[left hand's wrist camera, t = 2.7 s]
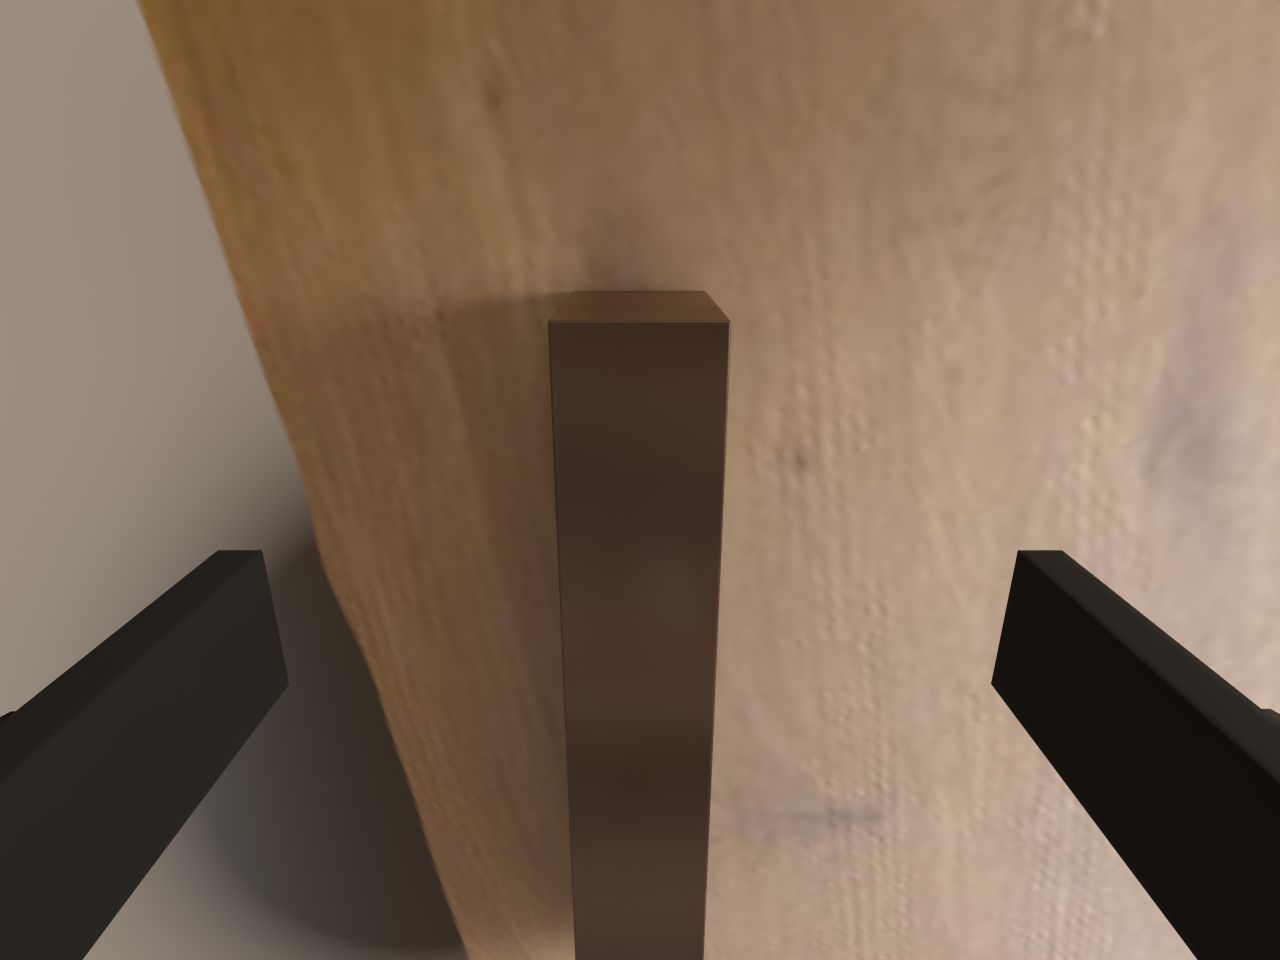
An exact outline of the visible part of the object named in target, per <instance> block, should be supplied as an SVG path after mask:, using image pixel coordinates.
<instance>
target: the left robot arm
mask: <svg viewBox="0 0 1280 960" xmlns="http://www.w3.org/2000/svg"><path fill="white" fill-rule="evenodd" d="M288 684H289V682H288V677H287V672H286V667H285V662H284V658H283V652H282V647H281V642H280V638H279V633H278V628H277V622H276V617H275V612H274V608H273V603H272V598H271V593H270V588H269V583H268V578H267V573H266V568H265V563H264V558H263V553H262V551H261V550H218V551H217V552H215V553H214V554H213V555H212V556H210V557H209V558H208V559H207V560H205V561H204V562H203V563H202V564H200V565H199V566H198V567H197V568H195V569H194V570H193V571H191V572H190V573H189V574H188V575H187V576H185V577H184V578H183V579H181V580H180V581H179V582H178V583H176V584H175V585H174V586H173V587H171V588H170V589H169V590H168V591H166V592H165V593H164V594H163V595H161V596H160V597H159V598H158V599H156V600H155V601H154V602H153V603H151V604H150V605H149V606H148V607H146V608H145V609H144V610H142V611H141V612H140V613H139V614H137V615H136V616H135V617H134V618H132V619H131V620H130V621H129V622H127V623H126V624H125V625H124V626H122V627H121V628H120V629H119V630H117V631H116V632H115V633H114V634H112V635H111V636H110V637H109V638H107V639H106V640H105V641H104V642H102V643H101V644H100V645H99V646H97V647H96V648H95V649H93V650H92V651H91V652H90V653H88V654H87V655H86V656H85V657H83V658H82V659H81V660H80V661H78V662H77V663H76V664H75V665H73V666H72V667H71V668H70V669H68V670H67V671H66V672H65V673H63V674H62V675H61V676H60V677H58V678H57V679H56V680H55V681H53V682H52V683H51V684H50V685H48V686H47V687H46V688H45V689H43V690H42V691H41V692H39V693H38V694H37V695H36V696H34V697H33V698H32V699H31V700H29V701H28V702H27V703H26V704H24V705H23V706H22V707H21V708H19V709H18V710H17V711H15V712H14V711H13V712H12V711H11V712H9V713H7V714H5V715H3V716H2V717H0V960H83V958H84V957H85V956H86V954H87V953H88V952H89V950H90V949H91V948H92V946H93V945H94V944H95V942H96V941H97V940H98V938H99V937H100V936H101V934H102V933H103V932H104V930H105V929H106V928H107V926H108V925H109V924H110V922H111V921H112V920H113V918H114V917H115V915H116V914H117V913H118V912H119V910H120V909H121V907H122V906H123V905H124V904H125V902H126V901H127V900H128V898H129V897H130V895H131V894H132V893H133V891H134V890H135V889H136V887H137V886H138V885H139V883H140V882H141V881H142V879H143V878H144V877H145V875H146V874H147V873H148V871H149V870H150V869H151V867H152V866H153V865H154V863H155V862H156V861H157V859H158V858H159V857H160V855H161V854H162V853H163V851H164V850H165V849H166V847H167V846H168V845H169V843H170V842H171V841H172V839H173V838H174V837H175V835H176V834H177V833H178V831H179V830H180V829H181V827H182V826H183V824H184V823H185V822H186V821H187V819H188V818H189V817H190V815H191V814H192V813H193V811H194V810H195V809H196V807H197V806H198V805H199V803H200V802H201V801H202V799H203V798H204V797H205V795H206V794H207V793H208V791H209V790H210V789H211V787H212V786H213V785H214V783H215V782H216V781H217V779H218V778H219V777H220V775H221V774H222V773H223V771H224V770H225V769H226V767H227V766H228V764H229V763H230V762H231V760H232V759H233V758H234V756H235V755H236V754H237V752H238V751H239V750H240V748H241V747H242V746H243V744H244V743H245V742H246V740H247V739H248V738H249V736H250V735H251V734H252V732H253V731H254V730H255V728H256V727H257V726H258V724H259V723H260V722H261V720H262V719H263V718H264V716H265V715H266V714H267V712H268V711H269V710H270V708H271V707H272V706H273V704H274V703H275V702H276V700H277V699H278V698H279V696H280V695H281V694H282V692H283V691H284V690H285V688H286V687H287V686H288ZM991 684H992V686H993V687H994V688H995V690H996V691H997V692H998V694H999V695H1000V696H1001V698H1002V699H1003V700H1004V702H1005V703H1006V704H1007V706H1008V707H1009V708H1010V710H1011V711H1012V712H1013V714H1014V715H1015V716H1016V718H1017V719H1018V720H1019V722H1020V723H1021V724H1022V726H1023V727H1024V728H1025V730H1026V731H1027V732H1028V734H1029V735H1030V736H1031V738H1032V739H1033V740H1034V742H1035V743H1036V744H1037V746H1038V747H1039V748H1040V750H1041V751H1042V752H1043V754H1044V755H1045V756H1046V758H1047V759H1048V760H1049V762H1050V763H1051V765H1052V766H1053V767H1054V769H1055V770H1056V771H1057V773H1058V774H1059V775H1060V777H1061V778H1062V779H1063V781H1064V782H1065V783H1066V785H1067V786H1068V787H1069V789H1070V790H1071V791H1072V793H1073V794H1074V795H1075V797H1076V798H1077V799H1078V801H1079V802H1080V803H1081V805H1082V806H1083V807H1084V809H1085V810H1086V811H1087V813H1088V814H1089V815H1090V817H1091V818H1092V819H1093V821H1094V822H1095V823H1096V825H1097V826H1098V827H1099V829H1100V830H1101V831H1102V833H1103V834H1104V835H1105V837H1106V838H1107V839H1108V841H1109V842H1110V843H1111V845H1112V846H1113V847H1114V849H1115V850H1116V851H1117V853H1118V854H1119V855H1120V857H1121V858H1122V859H1123V861H1124V862H1125V863H1126V865H1127V866H1128V867H1129V869H1130V870H1131V871H1132V873H1133V874H1134V875H1135V877H1136V878H1137V879H1138V881H1139V882H1140V883H1141V885H1142V886H1143V887H1144V889H1145V890H1146V891H1147V893H1148V894H1149V896H1150V897H1151V898H1152V900H1153V901H1154V902H1155V904H1156V905H1157V906H1158V908H1159V909H1160V910H1161V912H1162V913H1163V914H1164V916H1165V917H1166V918H1167V920H1168V921H1169V922H1170V924H1171V925H1172V926H1173V928H1174V929H1175V930H1176V932H1177V933H1178V934H1179V936H1180V937H1181V938H1182V940H1183V941H1184V942H1185V944H1186V945H1187V946H1188V948H1189V949H1190V950H1191V952H1192V953H1193V954H1194V956H1195V957H1196V958H1197V960H1280V714H1279V713H1277V712H1275V711H1273V710H1271V709H1261V708H1259V707H1258V706H1257V705H1256V704H1254V703H1253V702H1252V701H1251V700H1249V699H1248V698H1247V697H1246V696H1244V695H1243V694H1242V693H1241V692H1239V691H1238V690H1237V689H1236V688H1234V687H1233V686H1232V685H1230V684H1229V683H1228V682H1227V681H1225V680H1224V679H1223V678H1222V677H1220V676H1219V675H1218V674H1217V673H1215V672H1214V671H1213V670H1212V669H1210V668H1209V667H1208V666H1207V665H1205V664H1204V663H1203V662H1202V661H1200V660H1199V659H1198V658H1197V657H1195V656H1194V655H1193V654H1192V653H1190V652H1189V651H1188V650H1187V649H1185V648H1184V647H1183V646H1181V645H1180V644H1179V643H1178V642H1176V641H1175V640H1174V639H1173V638H1171V637H1170V636H1169V635H1168V634H1166V633H1165V632H1164V631H1163V630H1161V629H1160V628H1159V627H1158V626H1156V625H1155V624H1154V623H1153V622H1151V621H1150V620H1149V619H1148V618H1146V617H1145V616H1144V615H1143V614H1141V613H1140V612H1139V611H1138V610H1136V609H1135V608H1134V607H1132V606H1131V605H1130V604H1129V603H1127V602H1126V601H1125V600H1124V599H1122V598H1121V597H1120V596H1119V595H1117V594H1116V593H1115V592H1114V591H1112V590H1111V589H1110V588H1109V587H1107V586H1106V585H1105V584H1104V583H1102V582H1101V581H1100V580H1099V579H1097V578H1096V577H1095V576H1094V575H1092V574H1091V573H1090V572H1089V571H1087V570H1086V569H1085V568H1084V567H1082V566H1081V565H1080V564H1078V563H1077V562H1076V561H1075V560H1073V559H1072V558H1071V557H1070V556H1068V555H1067V554H1066V553H1065V552H1063V551H1062V550H1018V553H1017V558H1016V563H1015V568H1014V573H1013V578H1012V583H1011V588H1010V593H1009V598H1008V602H1007V607H1006V612H1005V617H1004V622H1003V627H1002V632H1001V637H1000V642H999V647H998V652H997V657H996V662H995V667H994V672H993V677H992V682H991Z"/></svg>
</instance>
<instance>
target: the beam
mask: <svg viewBox="0 0 1280 960" xmlns="http://www.w3.org/2000/svg"><path fill="white" fill-rule="evenodd" d="M548 335H549V358H550V381H551V404H552V428H553V451H554V474H555V497H556V520H557V543H558V566H559V590H560V613H561V636H562V659H563V682H564V705H565V728H566V752H567V775H568V798H569V821H570V844H571V867H572V890H573V913H574V937H575V960H704V937H705V914H706V891H707V868H708V845H709V822H710V800H711V777H712V754H713V731H714V708H715V685H716V662H717V639H718V616H719V593H720V570H721V548H722V525H723V502H724V479H725V456H726V433H727V410H728V387H729V364H730V341H731V321H730V320H729V319H728V317H727V316H726V315H725V314H724V313H723V312H722V310H721V309H720V308H719V307H718V306H717V305H716V303H715V302H714V301H713V300H712V299H711V297H710V296H709V295H708V294H707V293H706V292H705V291H575V292H573V293H572V294H571V296H570V297H569V298H568V299H567V300H566V301H565V303H564V304H563V305H562V306H561V307H560V308H559V310H558V311H557V312H556V313H555V314H554V315H553V317H552V318H551V319H550V320H549V322H548Z"/></svg>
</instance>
